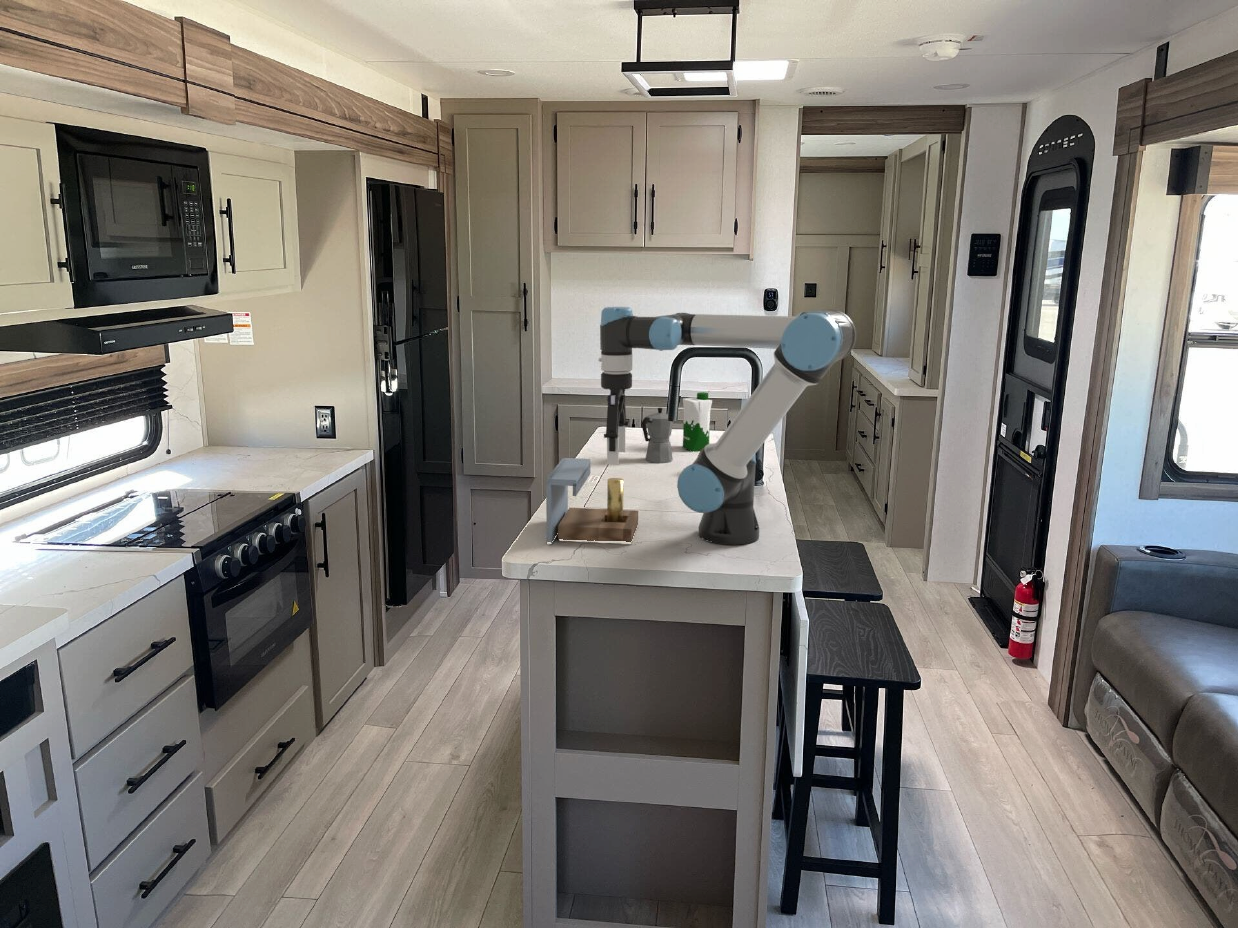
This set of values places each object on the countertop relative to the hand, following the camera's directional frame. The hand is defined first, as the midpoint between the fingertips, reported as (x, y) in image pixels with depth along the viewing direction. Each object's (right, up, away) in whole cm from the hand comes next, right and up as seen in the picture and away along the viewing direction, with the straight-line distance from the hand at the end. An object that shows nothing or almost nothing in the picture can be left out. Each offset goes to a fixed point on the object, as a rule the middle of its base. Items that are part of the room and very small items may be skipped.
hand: (616, 457), depth 225 cm
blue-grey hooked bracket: (-12, -19, +6) cm, 23 cm away
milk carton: (+28, +4, +101) cm, 105 cm away
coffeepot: (+13, -1, +83) cm, 84 cm away
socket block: (-4, -19, +5) cm, 20 cm away
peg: (0, -19, +5) cm, 20 cm away
